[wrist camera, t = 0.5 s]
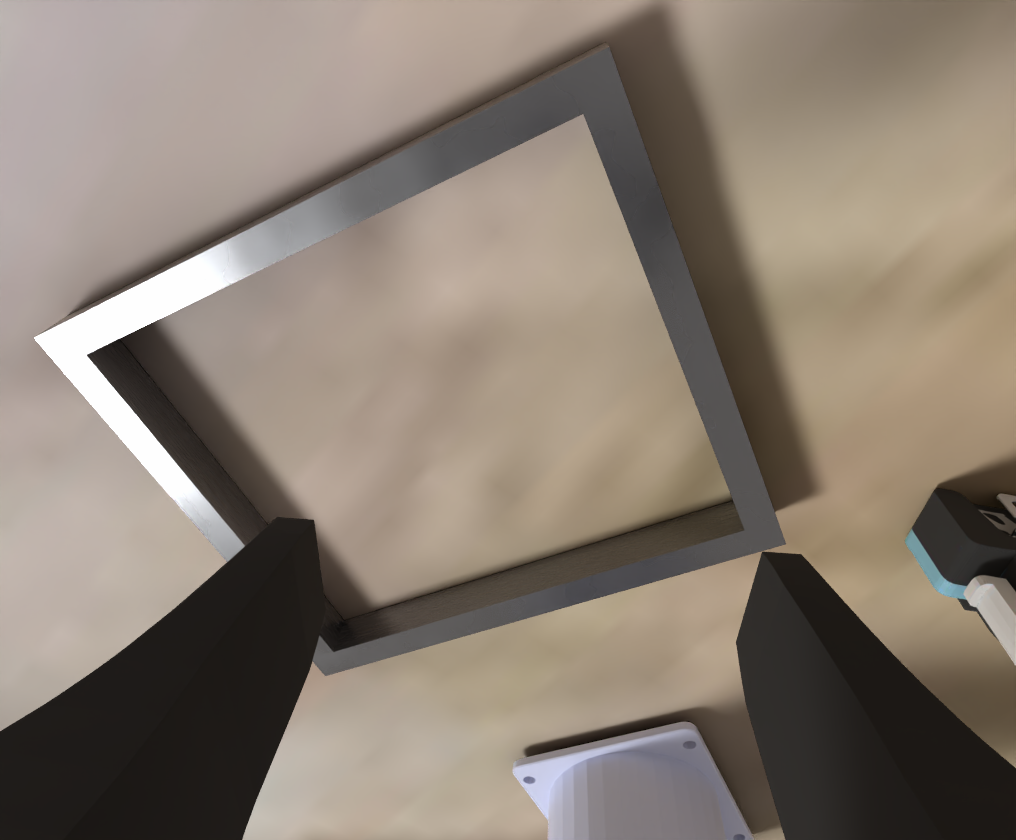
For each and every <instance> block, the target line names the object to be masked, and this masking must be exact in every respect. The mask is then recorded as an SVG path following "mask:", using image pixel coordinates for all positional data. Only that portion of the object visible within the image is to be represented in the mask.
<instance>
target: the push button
mask: <svg viewBox="0 0 1016 840" xmlns="http://www.w3.org/2000/svg"><path fill="white" fill-rule="evenodd" d="M996 498H997V499H998V500H999V502H1000V503H1001V504H1002V505H1003V506H1004V507H1005V509H1006V510H1005V509H999V508H993V507H987V506H981V505H975V504H972V503H971V502H970V501H969V500H968V499H967V498H966V497H965V496H963V495H962V494H960V493H958V492H955V491H951V490H945V489H935V490H934V492H933V493H932V495H931V497H930V498H929V500H928V502H927V503H926V505H925V507H924V509H923V510H922V512H921V514H920V515H919V517H918V519H917V520H916V522H915V524H914V525H913V527H912V529H911V531H910V532H909V534H908V536H907V537H906V539H905V543H906V545H907V547H908V548H909V550H910V551H911V552H912V553H913V555H914V556H915V558H916V560H917V561H918V563H919V564H920V566H921V568H922V569H923V571H924V573H925V574H926V576H927V577H928V579H929V581H930V582H931V584H932V585H933V587H934V588H935V589H936V590H937V591H938V592H939V593H941V594H943V595H945V596H948V597H953V598H957V599H958V600H959V602H960V603H961V605H962V607H963V608H964V610H969V611H975V612H977V613H978V614H979V616H980V617H981V619H982V620H983V622H984V623H985V625H986V626H987V628H988V629H989V630H990V632H991V633H992V634H993V635H994V636H995V637H996V638H997V639H998V641H1000V643H1001V644H1002V646H1003V647H1004V649H1005V650H1006V652H1007V653H1008V655H1009V656H1010V658H1011V659H1012V661H1013V662H1014V664H1015V665H1016V507H1015V506H1014V505H1013V504H1012V503H1016V496H1013V495H1007V494H1001V493H1000V494H999V495H998V496H997V497H996Z"/></svg>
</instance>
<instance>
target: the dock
mask: <svg viewBox="0 0 1016 840" xmlns="http://www.w3.org/2000/svg"><path fill="white" fill-rule="evenodd" d="M582 114H584V117H585V119H586V122H587V124H588V127H589V129H590V132H591V135H592V137H593V140H594V142H595V145H596V148H597V150H598V153H599V155H600V158H601V160H602V163H603V166H604V168H605V171H606V173H607V176H608V179H609V181H610V184H611V186H612V189H613V191H614V194H615V197H616V199H617V202H618V204H619V207H620V210H621V212H622V215H623V217H624V220H625V222H626V225H627V228H628V230H629V233H630V235H631V238H632V240H633V243H634V246H635V248H636V251H637V253H638V256H639V259H640V261H641V264H642V266H643V269H644V271H645V274H646V277H647V279H648V282H649V284H650V287H651V290H652V292H653V295H654V297H655V300H656V302H657V305H658V308H659V310H660V313H661V315H662V318H663V321H664V323H665V326H666V328H667V331H668V333H669V336H670V339H671V341H672V344H673V346H674V349H675V352H676V354H677V357H678V359H679V362H680V364H681V367H682V370H683V372H684V375H685V377H686V380H687V382H688V385H689V388H690V390H691V393H692V395H693V398H694V401H695V403H696V406H697V408H698V411H699V413H700V416H701V419H702V421H703V424H704V426H705V429H706V432H707V434H708V437H709V439H710V442H711V444H712V447H713V450H714V452H715V455H716V457H717V460H718V463H719V465H720V468H721V470H722V473H723V475H724V478H725V481H726V483H727V486H728V488H729V491H730V494H731V496H732V499H733V501H730V502H727V503H724V504H721V505H717V506H714V507H711V508H708V509H704V510H701V511H698V512H695V513H691V514H688V515H685V516H682V517H678V518H675V519H672V520H669V521H666V522H662V523H659V524H656V525H653V526H649V527H646V528H643V529H640V530H636V531H633V532H630V533H627V534H623V535H620V536H617V537H614V538H610V539H607V540H604V541H601V542H598V543H594V544H591V545H588V546H585V547H581V548H578V549H575V550H572V551H568V552H565V553H562V554H559V555H555V556H552V557H549V558H546V559H542V560H539V561H536V562H533V563H529V564H526V565H523V566H520V567H517V568H513V569H510V570H507V571H504V572H500V573H497V574H494V575H491V576H487V577H484V578H481V579H478V580H474V581H471V582H468V583H465V584H461V585H458V586H455V587H452V588H449V589H445V590H442V591H439V592H436V593H432V594H429V595H426V596H423V597H419V598H416V599H413V600H410V601H406V602H403V603H400V604H397V605H393V606H390V607H387V608H384V609H380V610H377V611H374V612H371V613H368V614H364V615H361V616H358V617H355V618H351V619H348V620H345V621H344V620H343V619H342V617H341V616H340V615H339V614H338V612H337V611H336V610H335V609H334V607H333V606H332V605H331V604H330V602H329V601H328V600H327V599H326V597H325V596H324V600H325V608H326V613H325V616H324V620H323V624H322V628H321V632H320V635H319V639H318V643H317V646H316V650H315V653H314V657H313V660H312V661H313V662H314V663H315V665H316V666H317V667H318V668H319V669H320V670H321V672H322V673H323V674H324V675H325V676H327V675H331V674H334V673H338V672H341V671H345V670H348V669H352V668H355V667H359V666H362V665H366V664H369V663H373V662H376V661H380V660H383V659H387V658H390V657H394V656H397V655H401V654H404V653H408V652H411V651H415V650H418V649H422V648H425V647H429V646H432V645H436V644H439V643H443V642H446V641H450V640H453V639H457V638H460V637H463V636H467V635H470V634H474V633H477V632H481V631H484V630H488V629H491V628H495V627H498V626H502V625H505V624H509V623H512V622H516V621H519V620H523V619H526V618H530V617H533V616H537V615H540V614H544V613H547V612H551V611H554V610H558V609H561V608H565V607H568V606H572V605H575V604H579V603H582V602H586V601H589V600H593V599H596V598H600V597H603V596H607V595H610V594H614V593H617V592H621V591H624V590H628V589H631V588H635V587H638V586H642V585H645V584H649V583H652V582H656V581H659V580H663V579H666V578H670V577H673V576H677V575H680V574H684V573H687V572H691V571H694V570H698V569H701V568H705V567H708V566H712V565H715V564H718V563H722V562H725V561H729V560H732V559H736V558H739V557H743V556H746V555H750V554H753V553H757V552H760V551H764V550H767V549H771V548H774V547H778V546H781V545H785V544H786V543H785V540H784V537H783V534H782V531H781V529H780V526H779V523H778V520H777V517H776V514H775V512H774V509H773V506H772V503H771V500H770V498H769V495H768V492H767V489H766V486H765V484H764V481H763V478H762V475H761V472H760V469H759V467H758V464H757V461H756V458H755V455H754V453H753V450H752V447H751V444H750V441H749V439H748V436H747V433H746V430H745V427H744V424H743V422H742V419H741V416H740V413H739V410H738V408H737V405H736V402H735V399H734V396H733V394H732V391H731V388H730V385H729V382H728V380H727V377H726V374H725V371H724V368H723V365H722V363H721V360H720V357H719V354H718V351H717V349H716V346H715V343H714V340H713V337H712V335H711V332H710V329H709V326H708V323H707V320H706V318H705V315H704V312H703V309H702V306H701V304H700V301H699V298H698V295H697V292H696V290H695V287H694V284H693V281H692V278H691V275H690V273H689V270H688V267H687V264H686V261H685V259H684V256H683V253H682V250H681V247H680V245H679V242H678V239H677V236H676V233H675V230H674V228H673V225H672V222H671V219H670V216H669V214H668V211H667V208H666V205H665V202H664V200H663V197H662V194H661V191H660V188H659V186H658V183H657V180H656V177H655V174H654V171H653V169H652V166H651V163H650V160H649V157H648V155H647V152H646V149H645V146H644V143H643V141H642V138H641V135H640V132H639V129H638V126H637V124H636V121H635V118H634V115H633V112H632V110H631V107H630V104H629V101H628V98H627V96H626V93H625V90H624V87H623V84H622V81H621V79H620V76H619V73H618V70H617V67H616V65H615V62H614V59H613V56H612V53H611V51H610V48H609V46H608V45H607V43H606V42H605V43H603V44H601V45H599V46H597V47H595V48H593V49H591V50H589V51H587V52H585V53H583V54H581V55H579V56H577V57H575V58H573V59H571V60H569V61H567V62H565V63H563V64H561V65H559V66H557V67H556V68H554V69H552V70H550V71H548V72H546V73H544V74H542V75H540V76H538V77H536V78H534V79H532V80H530V81H528V82H526V83H524V84H522V85H520V86H518V87H516V88H514V89H512V90H510V91H508V92H506V93H504V94H502V95H500V96H499V97H497V98H495V99H493V100H491V101H489V102H487V103H485V104H483V105H481V106H479V107H477V108H475V109H473V110H471V111H469V112H467V113H465V114H463V115H461V116H459V117H457V118H455V119H453V120H451V121H449V122H447V123H445V124H443V125H442V126H440V127H438V128H436V129H434V130H432V131H430V132H428V133H426V134H424V135H422V136H420V137H418V138H416V139H414V140H412V141H410V142H408V143H406V144H404V145H402V146H400V147H398V148H396V149H394V150H392V151H390V152H388V153H386V154H385V155H383V156H381V157H379V158H377V159H375V160H373V161H371V162H369V163H367V164H365V165H363V166H361V167H359V168H357V169H355V170H353V171H351V172H349V173H347V174H345V175H343V176H341V177H339V178H337V179H335V180H333V181H331V182H330V183H328V184H326V185H324V186H322V187H320V188H318V189H316V190H314V191H312V192H310V193H308V194H306V195H304V196H302V197H300V198H298V199H296V200H294V201H292V202H290V203H288V204H286V205H284V206H282V207H280V208H278V209H276V210H274V211H273V212H271V213H269V214H267V215H265V216H263V217H261V218H259V219H257V220H255V221H253V222H251V223H249V224H247V225H245V226H243V227H241V228H239V229H237V230H235V231H233V232H231V233H229V234H227V235H225V236H223V237H221V238H219V239H217V240H216V241H214V242H212V243H210V244H208V245H206V246H204V247H202V248H200V249H198V250H196V251H194V252H192V253H190V254H188V255H186V256H184V257H182V258H180V259H178V260H176V261H174V262H172V263H170V264H168V265H166V266H164V267H162V268H160V269H159V270H157V271H155V272H153V273H151V274H149V275H147V276H145V277H143V278H141V279H139V280H137V281H135V282H133V283H131V284H129V285H127V286H125V287H123V288H121V289H119V290H117V291H115V292H113V293H111V294H109V295H107V296H105V297H103V298H102V299H100V300H98V301H96V302H94V303H92V304H90V305H88V306H86V307H84V308H82V309H80V310H78V311H76V312H74V313H72V314H70V315H68V316H66V317H65V318H63V319H62V320H60V321H59V322H57V323H56V324H54V325H53V326H51V327H50V328H48V329H47V330H45V331H44V332H42V333H41V334H39V335H38V336H36V337H35V340H36V341H37V342H38V343H39V344H40V345H41V347H42V348H43V349H44V350H45V351H46V352H47V354H48V355H49V356H50V357H51V358H52V359H53V360H54V362H55V363H56V364H57V365H58V366H59V367H60V369H61V370H62V371H63V372H64V373H65V374H66V376H67V377H68V378H69V379H70V380H71V381H72V383H73V384H74V385H75V386H76V387H77V388H78V390H79V391H80V392H81V393H82V394H83V395H84V396H85V398H86V399H87V400H88V401H89V402H90V403H91V405H92V406H93V407H94V408H95V409H96V410H97V412H98V413H99V414H100V415H101V416H102V417H103V419H104V420H105V421H106V422H107V423H108V424H109V425H110V427H111V428H112V429H113V430H114V431H115V432H116V434H117V435H118V436H119V437H120V438H121V439H122V441H123V442H124V443H125V444H126V445H127V446H128V448H129V449H130V450H131V451H132V452H133V453H134V455H135V456H136V457H137V458H138V459H139V460H140V461H141V463H142V464H143V465H144V466H145V467H146V468H147V470H148V471H149V472H150V473H151V474H152V475H153V477H154V478H155V479H156V480H157V481H158V482H159V484H160V485H161V486H162V487H163V488H164V489H165V490H166V492H167V493H168V494H169V495H170V496H171V497H172V499H173V500H174V501H175V502H176V503H177V504H178V506H179V507H180V508H181V509H182V510H183V511H184V513H185V514H186V515H187V516H188V517H189V518H190V520H191V521H192V522H193V523H194V524H195V525H196V526H197V528H198V529H199V530H200V531H201V532H202V533H203V535H204V536H205V537H206V538H207V539H208V540H209V542H210V543H211V544H212V545H213V546H214V547H215V549H216V550H217V551H218V552H219V553H220V554H221V555H222V557H223V558H224V559H225V560H226V561H227V562H228V561H229V560H230V559H231V558H232V557H233V556H235V555H236V554H237V553H238V552H239V551H240V550H241V549H242V548H243V547H244V546H246V545H247V544H248V543H249V542H250V541H251V540H252V539H253V538H254V537H255V536H256V535H258V534H259V533H260V532H261V531H262V530H263V529H264V528H265V527H267V526H268V525H267V523H266V522H265V521H264V520H263V518H262V517H261V516H260V515H259V513H258V512H257V511H256V510H255V508H254V507H253V506H252V505H251V503H250V502H249V501H248V500H247V498H246V497H245V496H244V495H243V493H242V492H241V491H240V490H239V488H238V487H237V486H236V485H235V483H234V482H233V481H232V480H231V478H230V477H229V476H228V475H227V473H226V472H225V471H224V470H223V468H222V467H221V466H220V465H219V463H218V462H217V461H216V460H215V458H214V457H213V456H212V455H211V453H210V452H209V451H208V450H207V448H206V447H205V446H204V445H203V443H202V442H201V441H200V440H199V438H198V437H197V436H196V435H195V433H194V432H193V431H192V430H191V428H190V427H189V426H188V425H187V423H186V422H185V421H184V420H183V418H182V417H181V416H180V415H179V413H178V412H177V411H176V410H175V408H174V407H173V406H172V405H171V403H170V402H169V401H168V400H167V398H166V397H165V396H164V395H163V393H162V392H161V391H160V390H159V388H158V387H157V386H156V384H155V383H154V382H153V381H152V379H151V378H150V377H149V376H148V374H147V373H146V372H145V371H144V369H143V368H142V367H141V366H140V364H139V363H138V362H137V361H136V359H135V358H134V357H133V356H132V354H131V353H130V352H129V351H128V349H127V348H126V347H125V346H124V344H123V343H122V342H121V341H120V339H119V338H121V337H123V336H125V335H127V334H129V333H132V332H134V331H136V330H138V329H140V328H142V327H144V326H146V325H148V324H150V323H152V322H154V321H156V320H158V319H160V318H163V317H165V316H167V315H169V314H171V313H173V312H175V311H177V310H179V309H181V308H183V307H185V306H187V305H189V304H191V303H193V302H196V301H198V300H200V299H202V298H204V297H206V296H208V295H210V294H212V293H214V292H216V291H218V290H220V289H222V288H224V287H227V286H229V285H231V284H233V283H235V282H237V281H239V280H241V279H243V278H245V277H247V276H249V275H251V274H253V273H255V272H257V271H260V270H262V269H264V268H266V267H268V266H270V265H272V264H274V263H276V262H278V261H280V260H282V259H284V258H286V257H288V256H291V255H293V254H295V253H297V252H299V251H301V250H303V249H305V248H307V247H309V246H311V245H313V244H315V243H317V242H319V241H321V240H324V239H326V238H328V237H330V236H332V235H334V234H336V233H338V232H340V231H342V230H344V229H346V228H348V227H350V226H352V225H355V224H357V223H359V222H361V221H363V220H365V219H367V218H369V217H371V216H373V215H375V214H377V213H379V212H381V211H383V210H385V209H388V208H390V207H392V206H394V205H396V204H398V203H400V202H402V201H404V200H406V199H408V198H410V197H412V196H414V195H416V194H419V193H421V192H423V191H425V190H427V189H429V188H431V187H433V186H435V185H437V184H439V183H441V182H443V181H445V180H447V179H449V178H452V177H454V176H456V175H458V174H460V173H462V172H464V171H466V170H468V169H470V168H472V167H474V166H476V165H478V164H480V163H483V162H485V161H487V160H489V159H491V158H493V157H495V156H497V155H499V154H501V153H503V152H505V151H507V150H509V149H511V148H513V147H516V146H518V145H520V144H522V143H524V142H526V141H528V140H530V139H532V138H534V137H536V136H538V135H540V134H542V133H544V132H547V131H549V130H551V129H553V128H555V127H557V126H559V125H561V124H563V123H565V122H567V121H569V120H571V119H573V118H575V117H577V116H580V115H582Z"/></svg>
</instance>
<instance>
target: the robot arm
mask: <svg viewBox="0 0 1016 840" xmlns="http://www.w3.org/2000/svg"><path fill="white" fill-rule="evenodd" d="M325 613H326V608H325V600H324V593H323V585H322V577H321V570H320V562H319V554H318V547H317V539H316V531H315V524H314V520H308V519H294V518H280V517H277V518H276V519H275V520H273V521H272V522H271V523H270V524H269V525H268V526H267V527H265V528H264V529H263V530H262V531H261V532H260V533H259V534H258V535H256V536H255V537H254V538H253V539H252V540H251V541H250V542H249V543H248V544H247V545H246V546H244V547H243V548H242V549H241V550H240V551H239V552H238V553H237V554H236V555H235V556H233V557H232V558H231V559H230V560H229V561H228V562H227V563H226V564H225V565H224V566H222V567H221V568H220V569H219V570H218V571H217V572H216V573H215V574H214V575H212V576H211V577H210V578H209V579H208V580H207V581H206V582H204V583H203V584H202V585H201V586H200V587H199V588H198V589H196V590H195V591H194V592H193V593H192V594H191V595H190V596H188V597H187V598H186V599H185V600H184V601H183V602H181V603H180V604H179V605H178V606H177V607H176V608H174V609H173V610H172V611H171V612H170V613H168V614H167V615H166V616H165V617H163V618H162V619H161V620H160V621H158V622H157V623H156V624H155V625H153V626H152V627H151V628H150V629H148V630H147V631H146V632H145V633H143V634H142V635H141V636H140V637H138V638H137V639H136V640H135V641H133V642H132V643H131V644H130V645H128V646H127V647H126V648H125V649H123V650H122V651H121V652H119V653H118V654H117V655H115V656H114V657H113V658H111V659H110V660H109V661H107V662H106V663H104V664H103V665H102V666H100V667H99V668H98V669H96V670H95V671H93V672H92V673H90V674H89V675H87V676H86V677H85V678H83V679H82V680H80V681H79V682H77V683H76V684H74V685H73V686H71V687H70V688H68V689H67V690H66V691H64V692H63V693H61V694H60V695H58V696H57V697H55V698H54V699H52V700H50V701H49V702H47V703H46V704H44V705H43V706H41V707H39V708H38V709H36V710H35V711H33V712H31V713H30V714H28V715H26V716H25V717H23V718H21V719H20V720H18V721H16V722H15V723H13V724H12V725H10V726H8V727H7V728H5V729H3V730H2V731H0V840H242V838H243V835H244V832H245V829H246V826H247V824H248V821H249V818H250V816H251V813H252V810H253V807H254V805H255V802H256V799H257V797H258V795H259V792H260V790H261V787H262V785H263V783H264V780H265V778H266V775H267V773H268V770H269V768H270V766H271V763H272V761H273V758H274V756H275V754H276V751H277V749H278V746H279V744H280V741H281V739H282V737H283V734H284V732H285V729H286V727H287V725H288V722H289V720H290V717H291V715H292V712H293V710H294V708H295V705H296V703H297V700H298V698H299V695H300V693H301V690H302V688H303V685H304V683H305V680H306V678H307V675H308V673H309V670H310V667H311V664H312V660H313V657H314V653H315V650H316V646H317V643H318V639H319V635H320V632H321V628H322V624H323V620H324V616H325ZM736 645H737V651H738V658H739V665H740V672H741V678H742V684H743V689H744V695H745V701H746V705H747V709H748V713H749V716H750V720H751V723H752V727H753V730H754V734H755V737H756V741H757V744H758V748H759V751H760V755H761V758H762V761H763V765H764V768H765V772H766V775H767V778H768V782H769V785H770V789H771V792H772V795H773V799H774V802H775V806H776V809H777V812H778V816H779V819H780V823H781V826H782V829H783V833H784V836H785V840H1016V768H1015V767H1014V766H1012V765H1011V764H1010V763H1009V762H1008V761H1007V760H1005V759H1004V758H1003V757H1002V756H1001V755H999V754H998V753H997V752H996V751H995V750H994V749H992V748H991V747H990V746H989V745H988V744H986V743H985V742H984V741H983V740H982V739H981V738H980V737H978V736H977V735H976V734H975V733H974V732H973V731H972V730H971V729H970V728H968V727H967V726H966V725H965V724H964V723H963V722H962V721H961V720H960V719H959V718H957V717H956V716H955V715H954V714H953V713H952V712H951V711H950V710H949V709H948V708H947V707H946V706H945V705H944V704H943V703H942V702H941V701H940V700H939V699H938V698H936V697H935V696H934V695H933V694H932V693H931V692H930V691H929V690H928V689H927V688H926V687H925V686H924V685H923V684H922V683H921V682H920V681H919V680H918V679H917V678H916V677H915V676H914V675H913V674H912V673H911V672H910V671H909V670H908V669H907V668H906V667H905V666H904V665H903V664H902V663H901V662H900V661H899V660H898V659H897V658H896V657H895V656H894V655H893V654H892V653H891V652H890V651H889V650H888V649H887V648H886V646H885V645H884V644H883V643H882V642H881V641H880V640H879V639H878V638H877V637H876V636H875V635H874V634H873V633H872V632H871V631H870V629H869V628H868V627H867V626H866V625H865V624H864V623H863V622H862V621H861V620H860V619H859V618H858V616H857V615H856V614H855V613H854V612H853V611H852V610H851V609H850V608H849V606H848V605H847V604H846V603H845V602H844V601H843V600H842V599H841V598H840V597H839V595H838V594H837V593H836V592H835V591H834V590H833V589H832V588H831V586H830V585H829V584H828V583H827V582H826V581H825V580H824V579H823V578H822V576H821V575H820V574H819V573H818V572H817V571H816V570H815V569H814V568H813V566H812V565H811V564H810V563H809V562H808V561H807V560H806V559H805V558H804V557H803V556H802V555H801V554H789V553H775V552H762V554H761V558H760V561H759V565H758V568H757V572H756V575H755V578H754V582H753V585H752V589H751V592H750V596H749V599H748V603H747V606H746V609H745V613H744V616H743V620H742V623H741V627H740V630H739V634H738V637H737V641H736ZM513 774H514V776H515V777H516V778H517V780H518V781H519V782H520V784H521V785H522V786H523V788H524V789H525V790H526V792H527V793H528V794H529V796H530V797H531V798H532V800H533V801H534V802H535V804H536V805H537V806H538V808H539V809H540V810H541V812H542V813H543V814H544V816H545V817H546V818H547V820H548V840H755V839H754V837H753V835H752V833H751V831H750V829H749V827H748V825H747V824H746V822H745V820H744V818H743V816H742V814H741V812H740V810H739V808H738V806H737V804H736V802H735V800H734V798H733V796H732V795H731V793H730V791H729V789H728V787H727V785H726V783H725V781H724V779H723V777H722V775H721V773H720V771H719V769H718V768H717V766H716V764H715V762H714V760H713V758H712V756H711V754H710V752H709V750H708V748H707V746H706V744H705V742H704V741H703V739H702V737H701V735H700V733H699V731H698V729H697V727H696V726H695V725H694V724H692V723H690V722H678V723H674V724H670V725H665V726H661V727H656V728H652V729H648V730H643V731H639V732H635V733H630V734H626V735H622V736H617V737H613V738H608V739H604V740H600V741H595V742H591V743H587V744H582V745H578V746H573V747H569V748H565V749H560V750H556V751H552V752H547V753H543V754H538V755H534V756H530V757H525V758H521V759H518V760H516V761H515V762H514V764H513Z"/></svg>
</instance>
